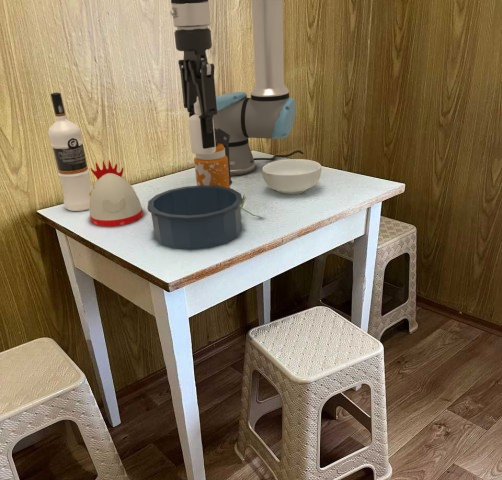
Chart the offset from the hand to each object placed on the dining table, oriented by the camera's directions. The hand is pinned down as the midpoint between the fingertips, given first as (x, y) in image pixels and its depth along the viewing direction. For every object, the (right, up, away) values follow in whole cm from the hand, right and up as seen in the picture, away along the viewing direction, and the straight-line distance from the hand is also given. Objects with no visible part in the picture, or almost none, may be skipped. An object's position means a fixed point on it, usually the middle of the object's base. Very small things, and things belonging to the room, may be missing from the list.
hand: (203, 144), depth 119 cm
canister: (+2, -7, +27) cm, 28 cm away
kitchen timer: (-25, -12, +21) cm, 35 cm away
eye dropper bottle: (0, -2, +1) cm, 2 cm away
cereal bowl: (+23, -1, +34) cm, 41 cm away
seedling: (+13, -13, +16) cm, 25 cm away
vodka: (-38, -7, +30) cm, 49 cm away
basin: (-2, -18, +10) cm, 21 cm away
